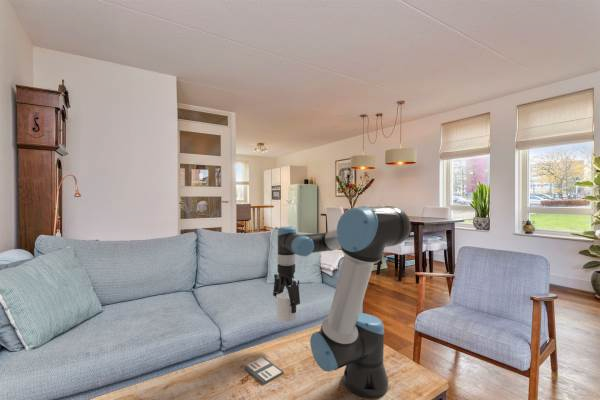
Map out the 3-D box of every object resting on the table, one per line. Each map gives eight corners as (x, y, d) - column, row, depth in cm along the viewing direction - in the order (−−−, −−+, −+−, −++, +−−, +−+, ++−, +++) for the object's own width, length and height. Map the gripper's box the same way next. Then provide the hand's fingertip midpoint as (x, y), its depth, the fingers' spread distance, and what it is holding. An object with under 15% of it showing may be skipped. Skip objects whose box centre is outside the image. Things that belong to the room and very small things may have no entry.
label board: (283, 373, 104) (283, 370, 104) (263, 384, 98) (263, 381, 98) (264, 359, 113) (264, 356, 113) (244, 368, 107) (244, 365, 107)
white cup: (295, 315, 125) (295, 292, 124) (293, 323, 117) (293, 299, 117) (277, 314, 126) (277, 291, 125) (274, 322, 118) (274, 298, 117)
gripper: (309, 266, 116) (309, 322, 117) (278, 257, 131) (277, 307, 131) (296, 270, 111) (295, 328, 111) (264, 260, 126) (264, 311, 126)
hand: (285, 316), depth 121 cm, fingers closed on white cup, 7 cm apart
